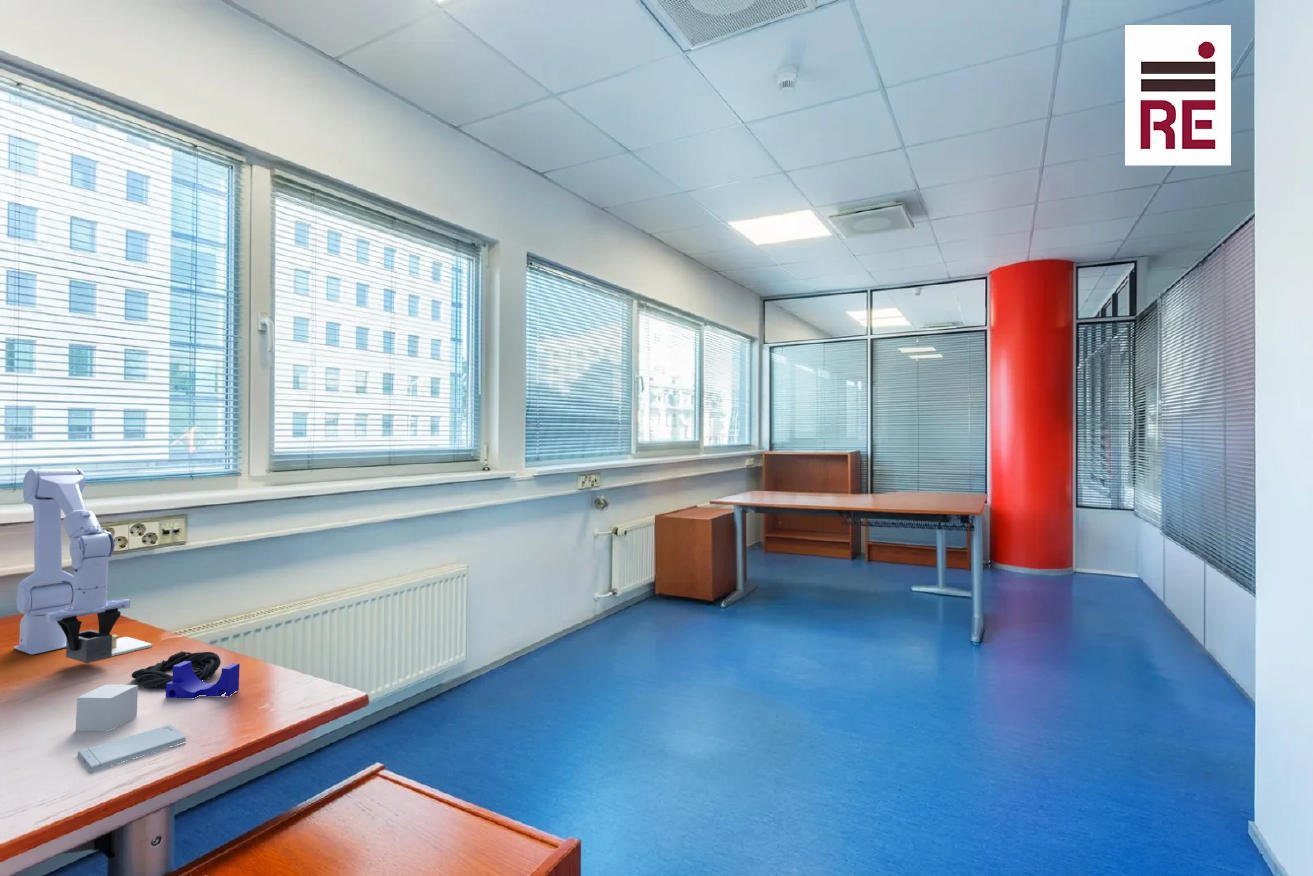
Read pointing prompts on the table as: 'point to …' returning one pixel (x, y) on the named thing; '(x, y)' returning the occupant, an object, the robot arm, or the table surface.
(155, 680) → the cable
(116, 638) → the keeper plate
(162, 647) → the table surface
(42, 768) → the table surface
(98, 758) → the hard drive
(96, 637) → the grey open storage bin
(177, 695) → the cable clip
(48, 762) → the table surface
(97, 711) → the light grey cube
